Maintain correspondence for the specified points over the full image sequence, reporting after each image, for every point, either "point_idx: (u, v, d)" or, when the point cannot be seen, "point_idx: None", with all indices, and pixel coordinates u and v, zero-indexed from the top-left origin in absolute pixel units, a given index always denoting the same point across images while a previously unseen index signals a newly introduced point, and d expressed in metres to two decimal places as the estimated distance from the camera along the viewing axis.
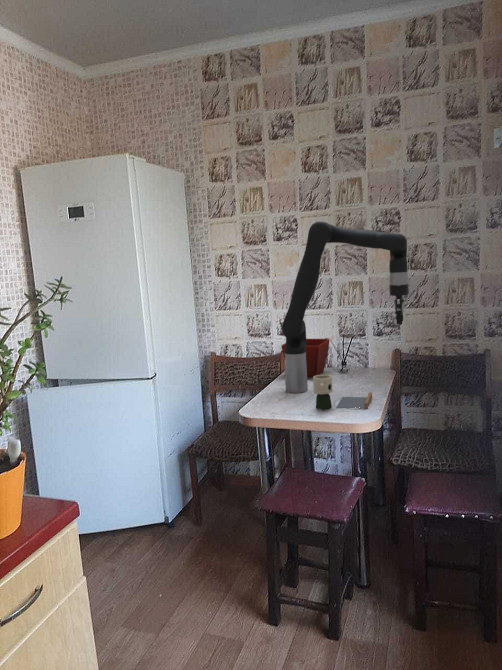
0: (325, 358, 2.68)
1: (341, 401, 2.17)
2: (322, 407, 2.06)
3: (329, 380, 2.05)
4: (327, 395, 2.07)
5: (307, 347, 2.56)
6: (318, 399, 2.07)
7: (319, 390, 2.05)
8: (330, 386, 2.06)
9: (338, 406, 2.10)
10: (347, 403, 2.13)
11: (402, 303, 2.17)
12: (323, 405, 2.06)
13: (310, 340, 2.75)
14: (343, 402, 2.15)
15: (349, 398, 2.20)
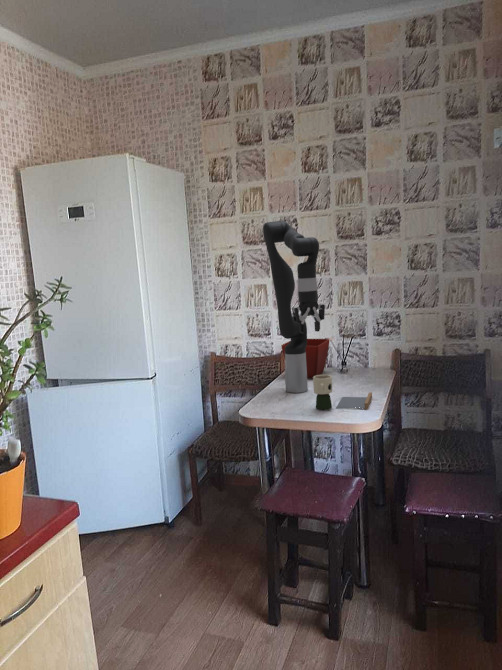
0: (325, 358, 2.68)
1: (341, 401, 2.17)
2: (322, 407, 2.06)
3: (329, 380, 2.05)
4: (327, 395, 2.07)
5: (307, 347, 2.56)
6: (318, 399, 2.07)
7: (319, 390, 2.05)
8: (330, 386, 2.06)
9: (338, 406, 2.10)
10: (347, 403, 2.13)
11: None
12: (323, 405, 2.06)
13: (310, 340, 2.75)
14: (343, 402, 2.15)
15: (349, 398, 2.20)
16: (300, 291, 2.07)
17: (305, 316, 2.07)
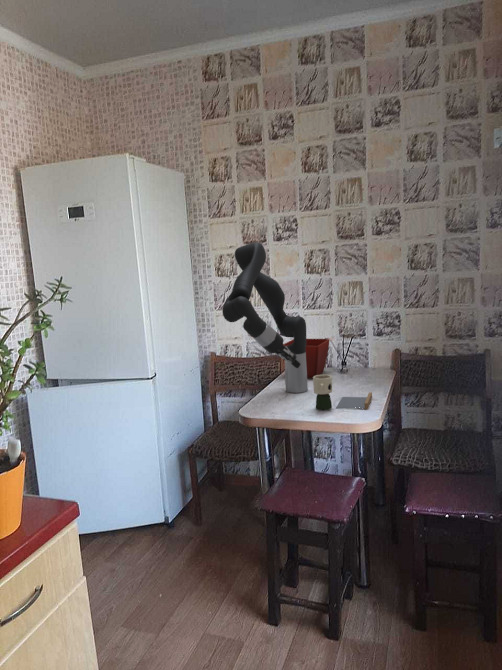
0: (325, 358, 2.68)
1: (341, 401, 2.17)
2: (322, 407, 2.06)
3: (329, 380, 2.05)
4: (327, 395, 2.07)
5: (307, 347, 2.56)
6: (318, 399, 2.07)
7: (319, 390, 2.05)
8: (330, 386, 2.06)
9: (338, 406, 2.10)
10: (347, 403, 2.13)
11: (287, 349, 1.96)
12: (323, 405, 2.06)
13: (310, 340, 2.75)
14: (343, 402, 2.15)
15: (349, 398, 2.20)
16: None
17: (282, 358, 1.99)
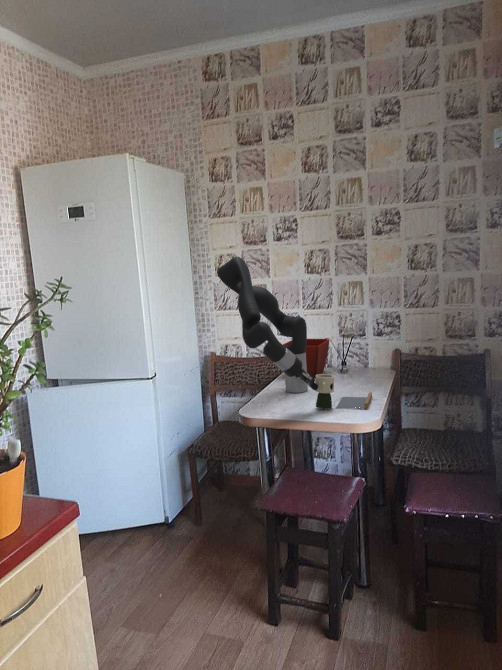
0: (325, 358, 2.68)
1: (341, 401, 2.17)
2: (322, 406, 2.06)
3: (331, 379, 2.05)
4: (328, 394, 2.07)
5: (307, 347, 2.56)
6: (319, 398, 2.07)
7: (321, 389, 2.05)
8: (332, 386, 2.06)
9: (338, 406, 2.10)
10: (347, 403, 2.13)
11: (306, 372, 2.00)
12: (324, 404, 2.06)
13: (310, 340, 2.75)
14: (343, 402, 2.15)
15: (349, 398, 2.20)
16: None
17: (300, 381, 2.04)
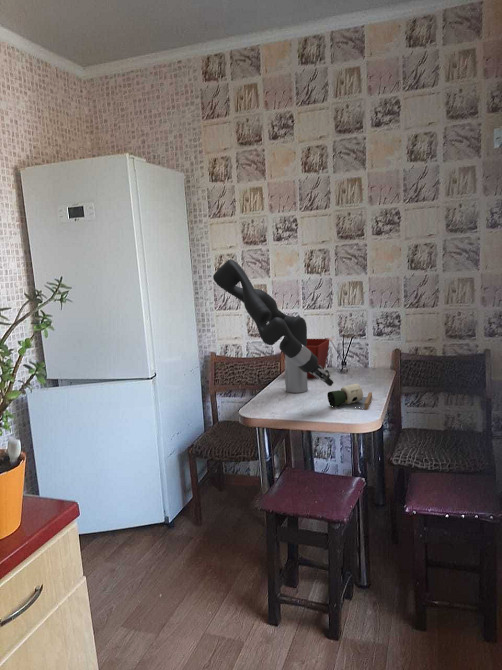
0: (325, 358, 2.68)
1: None
2: (335, 395, 2.08)
3: (360, 397, 2.11)
4: (345, 399, 2.10)
5: (307, 347, 2.56)
6: (339, 391, 2.10)
7: (350, 389, 2.10)
8: (354, 400, 2.11)
9: (338, 406, 2.10)
10: None
11: (321, 368, 2.04)
12: (337, 396, 2.08)
13: (310, 340, 2.75)
14: None
15: None
16: None
17: (316, 376, 2.07)
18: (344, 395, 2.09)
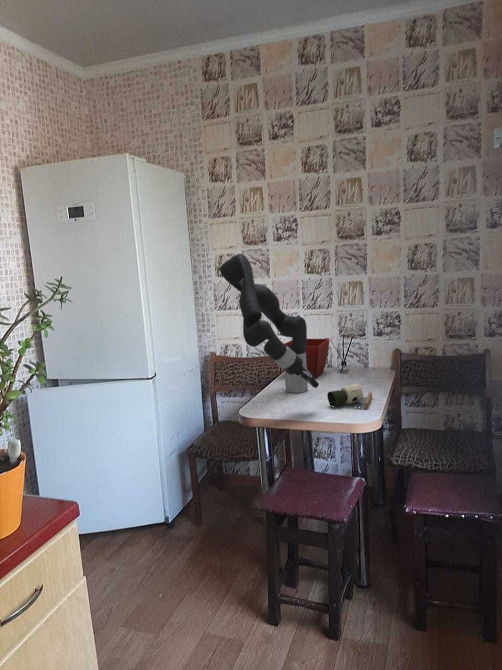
0: (325, 358, 2.68)
1: None
2: (335, 396, 2.08)
3: (360, 397, 2.11)
4: (345, 399, 2.10)
5: (307, 347, 2.56)
6: (339, 391, 2.10)
7: (350, 389, 2.10)
8: (354, 400, 2.11)
9: (338, 406, 2.10)
10: None
11: (306, 370, 2.01)
12: (337, 396, 2.08)
13: (310, 340, 2.75)
14: None
15: None
16: None
17: (301, 378, 2.05)
18: (344, 395, 2.09)
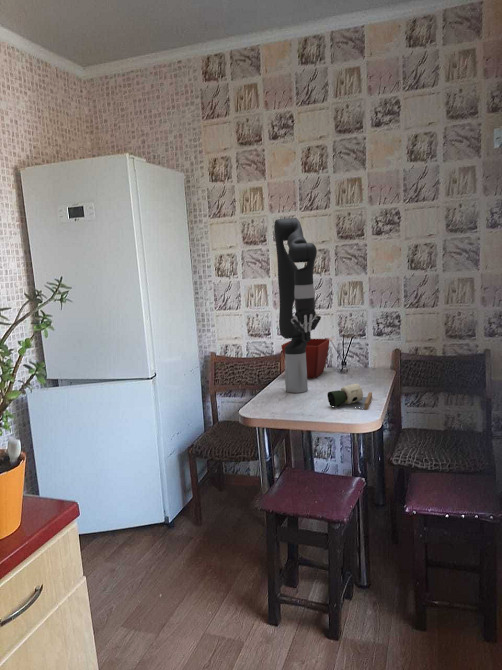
0: (325, 358, 2.68)
1: None
2: (335, 395, 2.08)
3: (360, 397, 2.11)
4: (345, 399, 2.10)
5: (307, 347, 2.56)
6: (339, 391, 2.10)
7: (350, 389, 2.10)
8: (354, 400, 2.11)
9: (338, 406, 2.10)
10: None
11: None
12: (337, 396, 2.08)
13: (310, 340, 2.75)
14: None
15: None
16: (297, 298, 2.01)
17: (305, 324, 2.03)
18: (344, 395, 2.09)
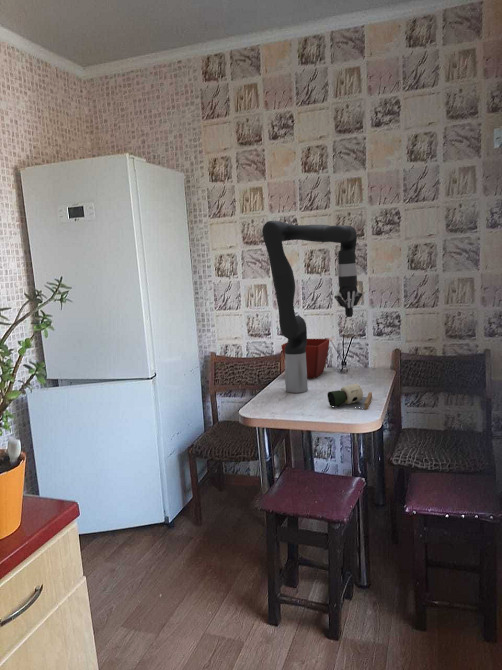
0: (325, 358, 2.68)
1: None
2: (335, 396, 2.08)
3: (360, 397, 2.11)
4: (345, 399, 2.10)
5: (307, 347, 2.56)
6: (339, 391, 2.10)
7: (350, 389, 2.10)
8: (354, 400, 2.11)
9: (338, 406, 2.10)
10: None
11: None
12: (337, 396, 2.08)
13: (310, 340, 2.75)
14: None
15: None
16: (341, 276, 2.19)
17: (349, 300, 2.20)
18: (344, 395, 2.09)
